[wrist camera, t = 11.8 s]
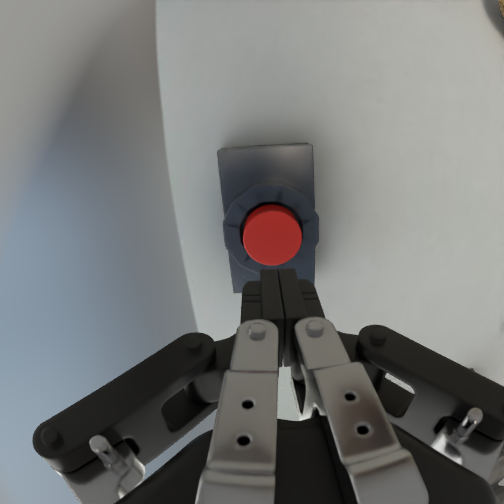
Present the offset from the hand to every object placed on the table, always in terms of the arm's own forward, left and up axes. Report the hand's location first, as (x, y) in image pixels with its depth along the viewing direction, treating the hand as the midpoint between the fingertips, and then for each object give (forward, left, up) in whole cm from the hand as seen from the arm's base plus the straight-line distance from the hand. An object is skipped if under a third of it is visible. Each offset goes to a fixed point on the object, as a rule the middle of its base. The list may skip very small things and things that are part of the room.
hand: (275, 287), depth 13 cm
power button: (+1, 0, -9) cm, 9 cm away
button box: (+1, 0, -13) cm, 13 cm away
